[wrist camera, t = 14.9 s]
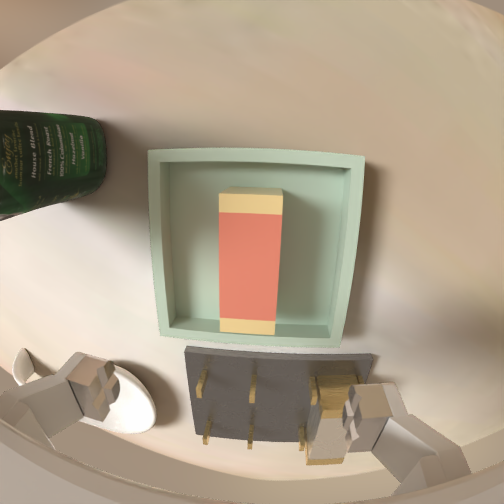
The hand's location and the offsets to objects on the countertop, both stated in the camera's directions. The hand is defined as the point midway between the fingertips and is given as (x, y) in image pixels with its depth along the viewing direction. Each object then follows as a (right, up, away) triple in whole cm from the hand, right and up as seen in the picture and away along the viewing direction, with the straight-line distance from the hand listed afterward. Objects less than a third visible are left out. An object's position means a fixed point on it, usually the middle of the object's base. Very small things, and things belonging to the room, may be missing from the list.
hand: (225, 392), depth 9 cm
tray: (+1, +5, +16) cm, 17 cm away
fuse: (+1, +5, +16) cm, 16 cm away
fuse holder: (+3, -12, +22) cm, 25 cm away
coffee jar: (-17, +14, +15) cm, 26 cm away
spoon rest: (-22, -12, +24) cm, 35 cm away
